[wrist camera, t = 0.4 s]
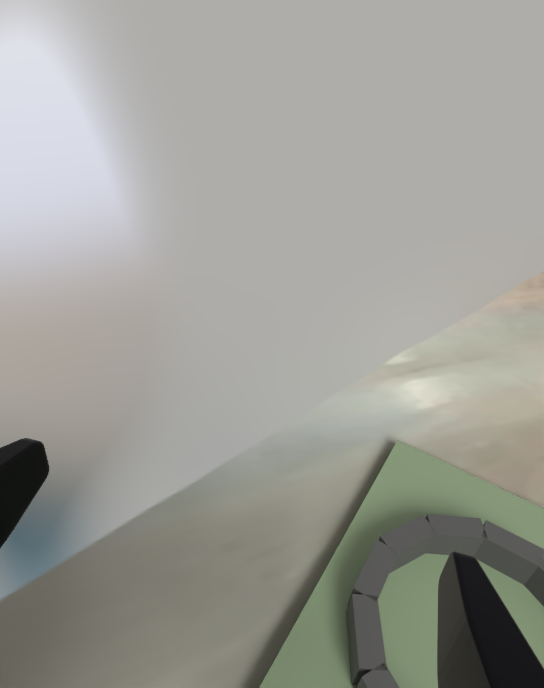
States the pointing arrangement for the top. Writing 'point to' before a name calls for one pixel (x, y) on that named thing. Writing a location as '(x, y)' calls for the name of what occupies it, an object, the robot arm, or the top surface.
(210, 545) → the top surface
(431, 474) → the green base with ring
